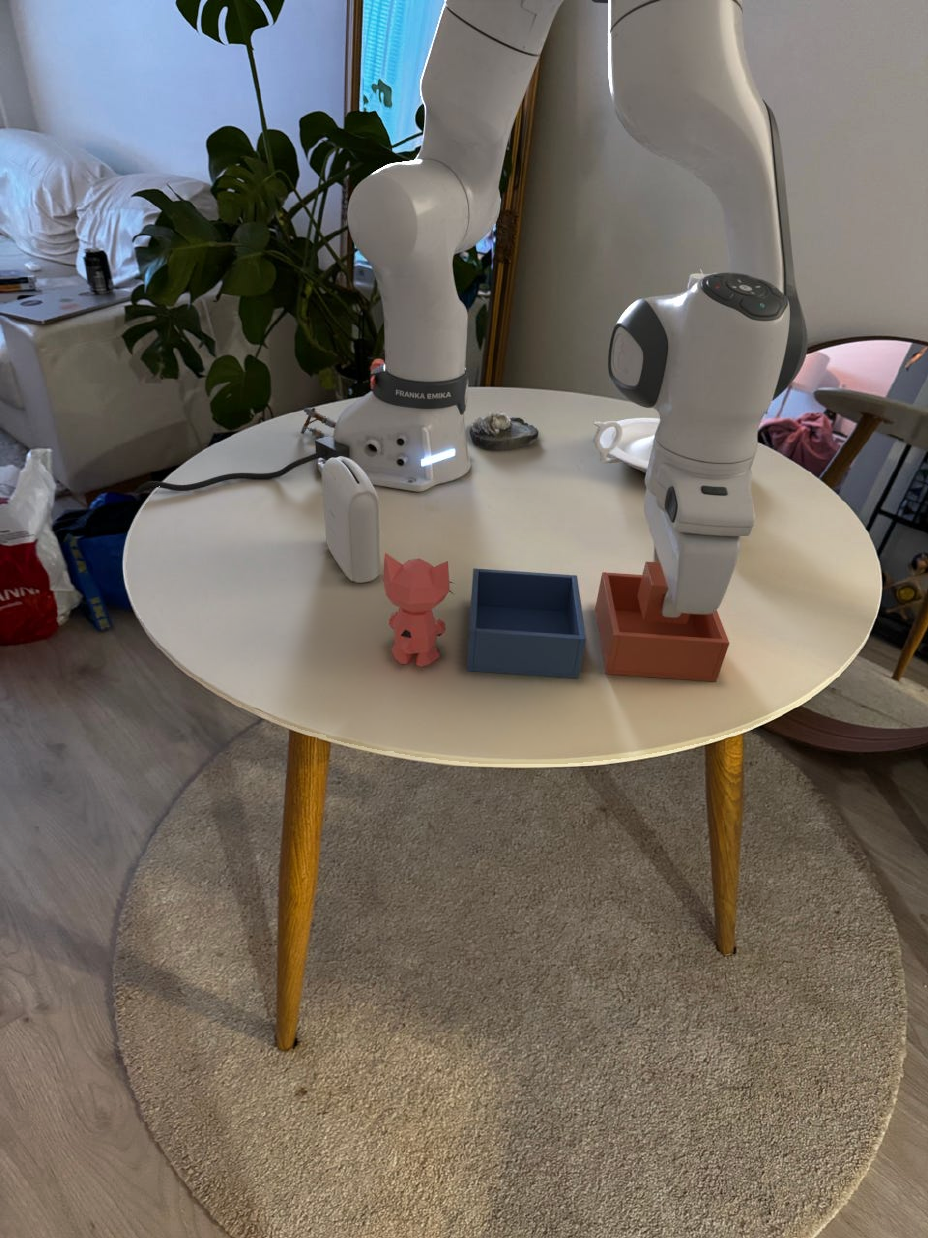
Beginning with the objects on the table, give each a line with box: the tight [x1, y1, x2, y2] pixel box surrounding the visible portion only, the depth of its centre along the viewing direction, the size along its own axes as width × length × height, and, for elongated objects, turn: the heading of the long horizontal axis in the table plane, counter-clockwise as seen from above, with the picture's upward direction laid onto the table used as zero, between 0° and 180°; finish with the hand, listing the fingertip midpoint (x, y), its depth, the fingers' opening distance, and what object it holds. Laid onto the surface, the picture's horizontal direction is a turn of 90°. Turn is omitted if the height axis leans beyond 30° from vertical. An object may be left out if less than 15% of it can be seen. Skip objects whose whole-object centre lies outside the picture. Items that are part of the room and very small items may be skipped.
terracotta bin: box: [594, 571, 730, 683], centre depth 79 cm, size 11×11×5 cm
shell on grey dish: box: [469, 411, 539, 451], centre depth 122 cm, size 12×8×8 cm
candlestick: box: [593, 268, 717, 473], centre depth 108 cm, size 21×25×28 cm
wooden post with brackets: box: [300, 407, 337, 438], centre depth 118 cm, size 2×8×4 cm, turn 89°
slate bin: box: [466, 567, 587, 679], centre depth 78 cm, size 11×11×5 cm
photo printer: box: [321, 456, 381, 583], centre depth 86 cm, size 10×4×12 cm, turn 26°
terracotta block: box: [637, 561, 690, 624], centre depth 77 cm, size 4×4×4 cm
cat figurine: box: [382, 552, 456, 668], centre depth 73 cm, size 7×7×12 cm
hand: (664, 596), depth 77 cm, fingers closed on terracotta block, 4 cm apart
